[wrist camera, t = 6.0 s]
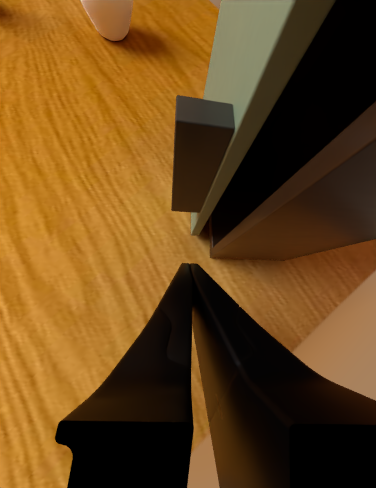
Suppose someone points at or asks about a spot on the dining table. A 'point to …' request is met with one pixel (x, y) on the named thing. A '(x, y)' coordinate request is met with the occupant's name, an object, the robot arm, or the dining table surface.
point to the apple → (110, 17)
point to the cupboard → (310, 153)
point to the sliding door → (237, 95)
